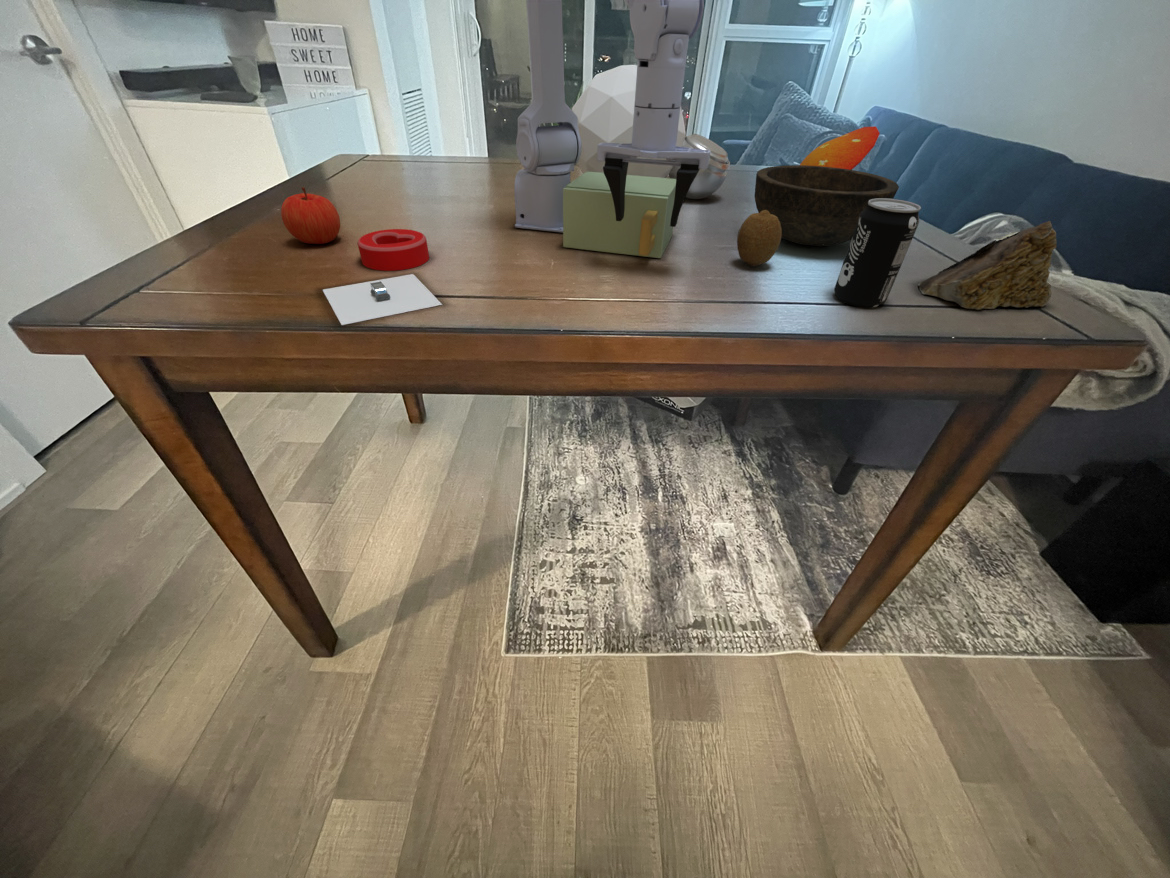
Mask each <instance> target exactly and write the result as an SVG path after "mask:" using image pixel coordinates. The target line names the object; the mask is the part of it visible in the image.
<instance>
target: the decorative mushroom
mask: <svg viewBox="0 0 1170 878" xmlns="http://www.w3.org/2000/svg"><path fill="white" fill-rule="evenodd" d="M879 137H880V131H879V129H878V128H877V126H863V127H860V128H857V129H855V130H852V131H850V132H847V133H844V134H842V135H840V136H837V137H835V138H833V139H829V140H827V141H826V142H823V143H821V144H820V145H819V146H817V147H816V148H814V149H813V150H812V151H810V153H808V154H807V155H806V156H805V157H804V158H803V160H802V161H801V162H800V164H799V165H805V166H822V167H833V168H841V169H848V170H854V169H855V168H856V167H857V166H858V165H860V163H862V161H863V160H864V159H865V158H866V157H867V155H868V154H869V153H870V152H871V151H872V150H873V148H874V147H875V146H876V144H877V141H878V139H879Z"/></svg>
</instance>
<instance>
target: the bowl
mask: <svg viewBox="0 0 1170 878" xmlns="http://www.w3.org/2000/svg"><path fill="white" fill-rule="evenodd" d="M899 188H900V186H899V184H898V183H897V182H896V181H894V180H893V179H890V178H887V177H884V176H880V175H879V174H873V173H869V172H864V171H859V170H854V169H852V170H848V169H841V168H833V167H822V166H805V165H800V164H795V165H794V164H793V165H774V166H767V167H763V168H761V169H759V170H758V171H756V175H755V185H754V196H753V197H754V202H755V207H756V211H757V213H760V212H761V211H763V210H767V211H769V212H770V214H772V215H775V216H776V217H778V219H779V222H780V224H781V229H782V236H781V239H783V240H785V241H788V242H791V243H795V244H799V245H804V246H812V247H829V246H836V245H838V244H842V243H845V242H850V241H851V239H852V236H853V233H854V230H855V228H856V225H857V222H858V219H859V216H860V213H861V212H862V211H863V210H864V209H865V208H866V207H867V206H868V201H869V200H871V199H876V198H887V199H895V196H896V194H897V192H898V191H899Z"/></svg>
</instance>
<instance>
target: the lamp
mask: <svg viewBox="0 0 1170 878" xmlns="http://www.w3.org/2000/svg"><path fill="white" fill-rule="evenodd" d="M636 76H637V64H623V65H618V66H616V67H613V68H610V69H608V70H605V71H602V72H599V73H597V74H595V75H594V77H593V78H592V79H591V80H590V82H589V84H588V85H587V86H586V88H585V89H584V90H583V92H582V93H581V95H580V96H579V97H578V99H577V100H576V102H575V103H574V105H573V106H572V107H571V110H572V111H573V112H574V113H575V114H576V116H577V117H578V130H579V134H580V137H581V143H582V151H581V156H580V159H579V161H578V163H577V164H576V165H577V166H578V168H579V169H580V172H581V173H582V174H584V173H585V172H599V173H604V172H603V167H604V166H605V161H597V148H598V144H600V143H632V132H633V118H634V106H635V105H634V104H635V90H636ZM685 126H686V125H685V119H684V114H683V110H682V106H681V107H680V116H679V124H678V132H677V141H676V146H678V147H685V148H693V149H702V150H710V157H709V164H708V168H707V169H700V170H699V172H698V174H697V175H696V177H695V179H694V181H693V182H692V184H691V186H690V188H689V190H688V192H687V195H686V197H685V199H686V198H687V199H690V200H701V199H705V198H707V197H709V196H711V195H713V194H714V193H716V192H717V191H718V190H719V189H720V188H721V187H722V185H723V184H724V182H725V180H726V178H727V176H728V172H727V170H729V169H730V166H731V161H730V160H729V157H728V152H727V151H726V150H725V149H724V148H723V147H721V146H720V145H719V144H717V143H716V142H714V141H713V140H711V139H709V138H707V137H705V136H703V135H701V134H697V133H692V134H690V135H686V134H687V133H686V132H687V131H686V127H685ZM637 158H641V157H637ZM643 159H657V160H666V159H664V158H643ZM674 161H675V160H674ZM680 167H681V166H669V165H656V164H643V163H630V162H628V169H627V175H635V176H647V177H659V178H670V179H676V175H677V171H678V169H680Z"/></svg>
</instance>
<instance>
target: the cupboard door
mask: <svg viewBox="0 0 1170 878" xmlns="http://www.w3.org/2000/svg"><path fill="white" fill-rule="evenodd" d="M668 198H669V197H664V196H654V195H643V194H632V193H625V210H624V218H623V219H622V220H621V221H616V214H615V207H614V202H613V198H612V194H611V192H610V191H599V190H588V189H577V188H566V187H565V188H563V233H562V247H563V248H567V249H577V250H585V251H594V252H602V253H611V254H618V255H619V254H620V255H629V256H638V257H645V258H646V257H647V258H655V259H662V257H663V255H662V248H663V240H664V231H665V223H666V215H667V206H668ZM661 256H662V257H661Z"/></svg>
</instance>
